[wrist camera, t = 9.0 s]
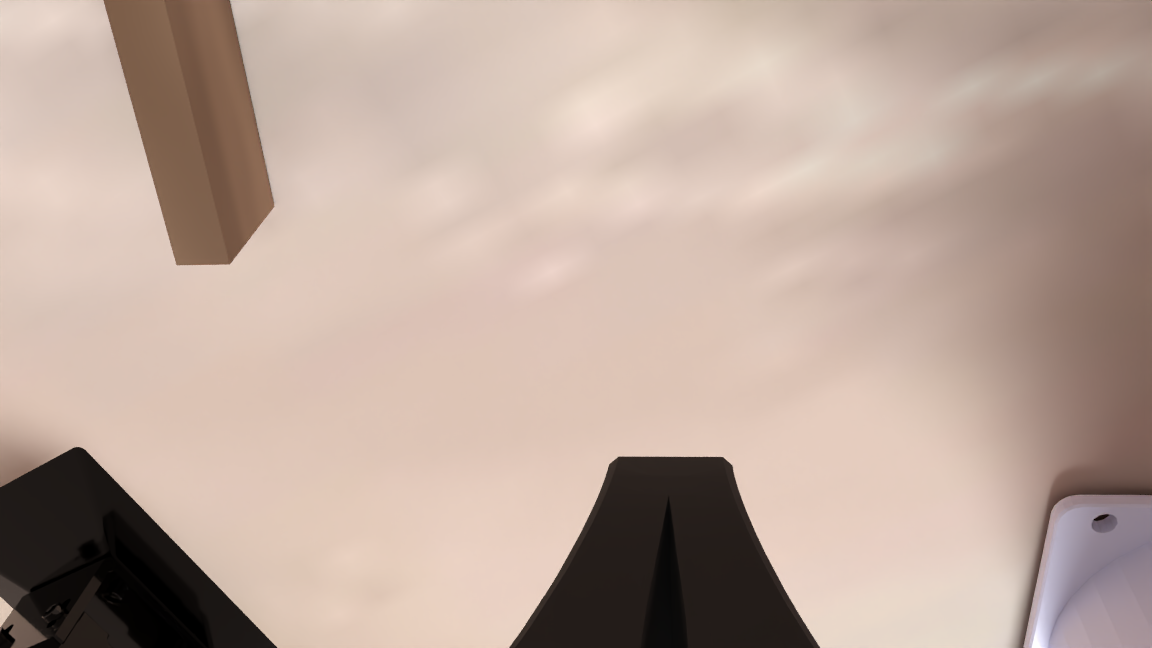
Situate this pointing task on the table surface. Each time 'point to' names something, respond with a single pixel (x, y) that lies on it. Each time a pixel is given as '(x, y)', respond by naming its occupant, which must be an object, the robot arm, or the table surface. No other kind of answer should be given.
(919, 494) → the table surface
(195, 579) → the black angled piece
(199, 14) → the box
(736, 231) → the table surface
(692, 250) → the table surface
